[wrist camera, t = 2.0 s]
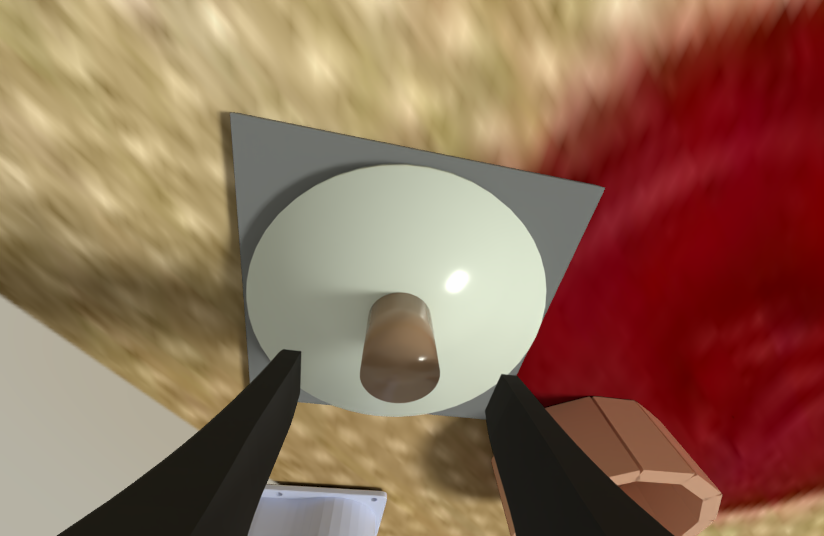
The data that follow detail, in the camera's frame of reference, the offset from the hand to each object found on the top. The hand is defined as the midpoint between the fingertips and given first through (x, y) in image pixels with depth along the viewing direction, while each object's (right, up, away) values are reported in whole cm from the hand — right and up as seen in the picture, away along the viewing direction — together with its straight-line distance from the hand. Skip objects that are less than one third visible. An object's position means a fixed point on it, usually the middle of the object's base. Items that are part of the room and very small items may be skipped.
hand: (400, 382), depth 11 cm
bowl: (+12, -10, +11) cm, 19 cm away
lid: (0, +2, +4) cm, 5 cm away
